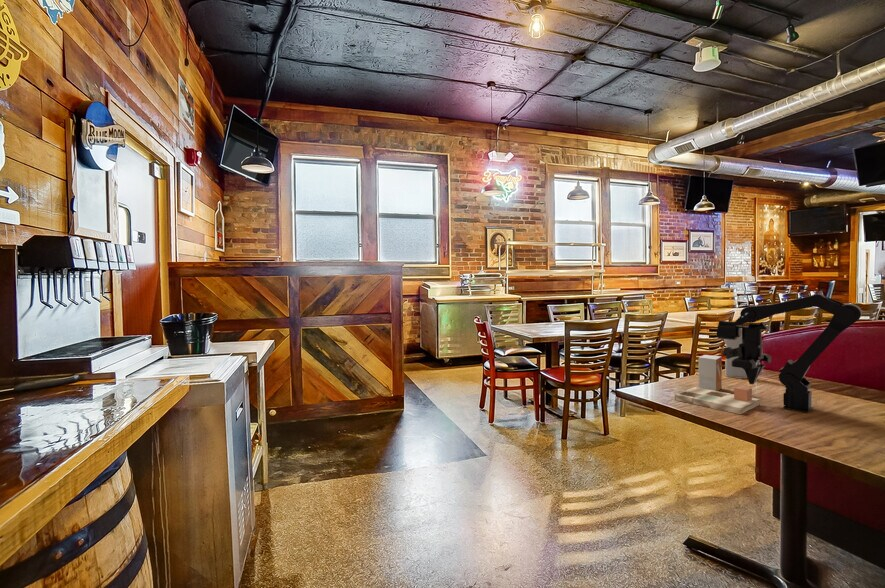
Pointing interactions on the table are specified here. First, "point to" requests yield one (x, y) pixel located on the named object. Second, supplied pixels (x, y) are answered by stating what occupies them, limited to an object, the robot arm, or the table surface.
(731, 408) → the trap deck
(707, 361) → the small box
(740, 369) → the grey upright slab
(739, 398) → the block
